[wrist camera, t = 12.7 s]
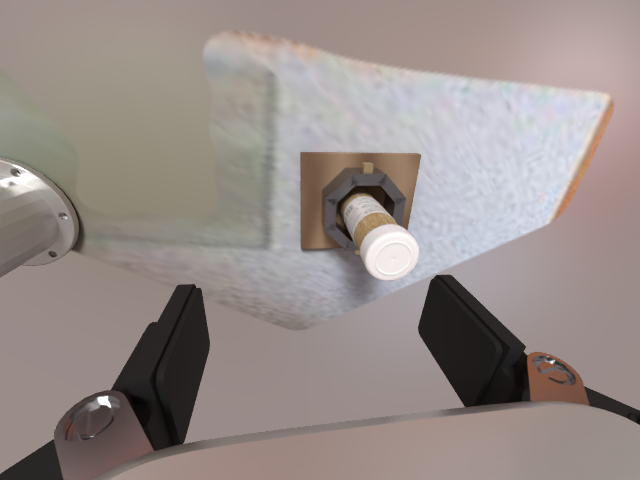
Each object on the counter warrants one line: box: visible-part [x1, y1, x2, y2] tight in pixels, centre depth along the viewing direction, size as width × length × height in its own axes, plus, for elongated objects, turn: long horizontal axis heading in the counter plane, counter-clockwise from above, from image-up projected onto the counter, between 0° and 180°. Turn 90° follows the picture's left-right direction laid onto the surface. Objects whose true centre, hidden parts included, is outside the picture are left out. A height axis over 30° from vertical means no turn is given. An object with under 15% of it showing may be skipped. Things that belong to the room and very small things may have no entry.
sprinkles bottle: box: [339, 188, 419, 281], centre depth 28 cm, size 5×5×14 cm
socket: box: [321, 162, 406, 255], centre depth 32 cm, size 9×11×4 cm
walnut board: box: [301, 152, 421, 249], centre depth 34 cm, size 14×12×1 cm
